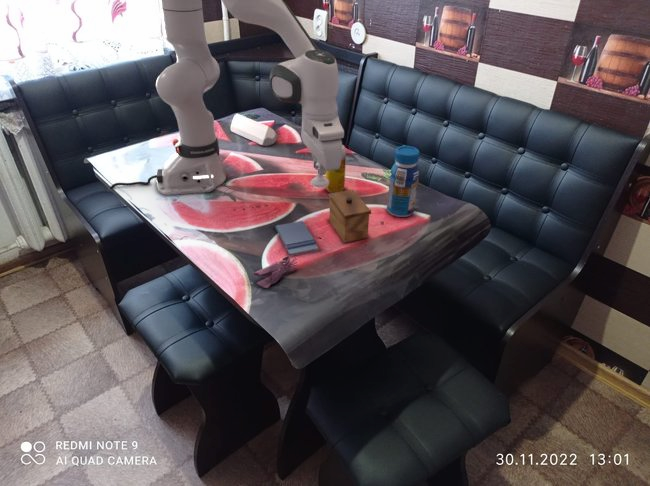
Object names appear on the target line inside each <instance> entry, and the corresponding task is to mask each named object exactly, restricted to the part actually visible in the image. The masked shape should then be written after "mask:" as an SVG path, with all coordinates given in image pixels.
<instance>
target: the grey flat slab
mask: <svg viewBox="0 0 650 486" xmlns="http://www.w3.org/2000/svg"><path fill="white" fill-rule="evenodd" d="M275 230H276V232H277V234H278V236H279V238H280V240H281V242H282V243H283V245H284V247H285V250H286V251H287V254H288V256H289V257H291V256H292V257H294V256H298V255H303V254H308V253H313V252H317V251H319V246H318V245H317V241H316V240H315V237H313V235H312V234H311V231H310V230H309V228H308V227H307V225H306V223H305V222H304V220H299V221H293V222H288V223H283V224H278V225H276V226H275Z"/></svg>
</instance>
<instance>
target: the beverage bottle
mask: <svg viewBox="0 0 650 486" xmlns="http://www.w3.org/2000/svg"><path fill="white" fill-rule="evenodd" d="M419 158H420V150H419V149H418V148H417V147H414V146H411V145H400V146H397V147H396V148H395V150H394V163H393V165H392V167H391V168H390V176H389V178H388V179H389V180H388V181H389V185H388V194H387V195H388V196H387V205H386V210H387V212H388V213H389V214H390V215H392V216H394V217H397V218H407V217H410V216H412V215H413V213H414V212H415V204H416V199H417V191H418V185H419V176H420V169H419V166H418V162H419V160H420V159H419Z"/></svg>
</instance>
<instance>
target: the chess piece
mask: <svg viewBox="0 0 650 486" xmlns="http://www.w3.org/2000/svg"><path fill="white" fill-rule="evenodd" d="M317 161H318V160H317ZM316 166H318V167H319V161H318V162H317V163H316ZM316 171H317V172H316V176H315V177H313V178H311V179H310V185H311V186H312V187H314V188H326V186H328V185H329V180H328V179H327V178H326V176H324V175H320V174H319V173H318V170H316Z"/></svg>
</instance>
